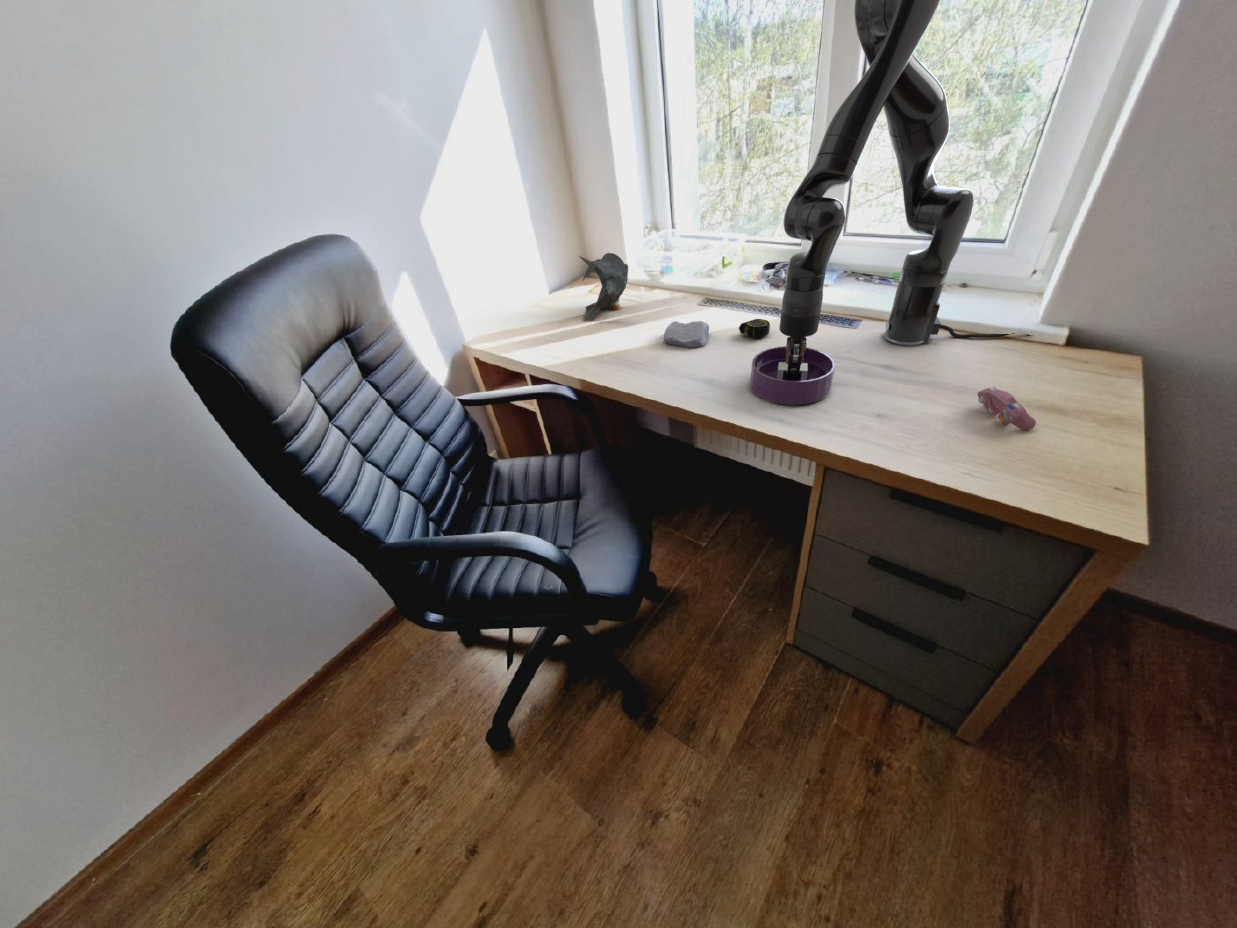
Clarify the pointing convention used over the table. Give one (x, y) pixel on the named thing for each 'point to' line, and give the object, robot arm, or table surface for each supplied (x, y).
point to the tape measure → (755, 328)
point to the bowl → (791, 391)
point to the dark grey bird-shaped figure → (607, 283)
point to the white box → (783, 368)
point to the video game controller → (1006, 408)
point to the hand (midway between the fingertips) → (790, 383)
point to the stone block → (687, 334)
